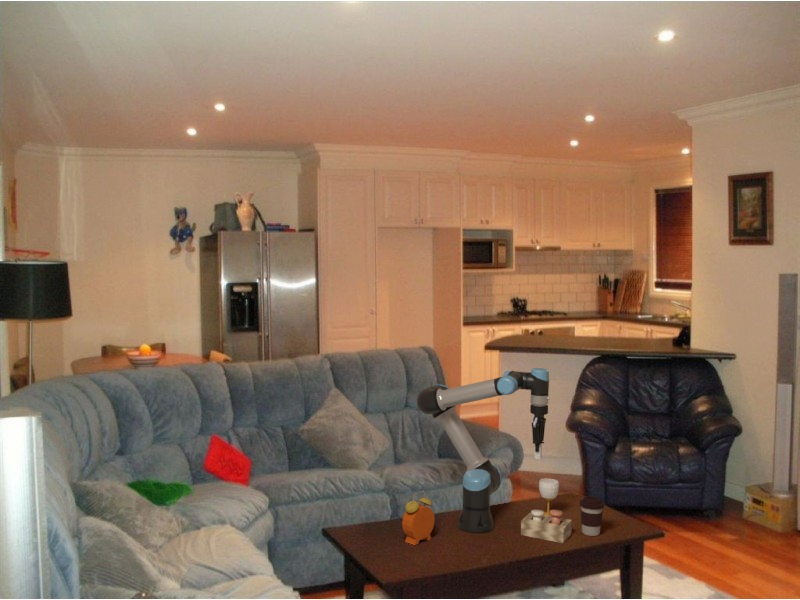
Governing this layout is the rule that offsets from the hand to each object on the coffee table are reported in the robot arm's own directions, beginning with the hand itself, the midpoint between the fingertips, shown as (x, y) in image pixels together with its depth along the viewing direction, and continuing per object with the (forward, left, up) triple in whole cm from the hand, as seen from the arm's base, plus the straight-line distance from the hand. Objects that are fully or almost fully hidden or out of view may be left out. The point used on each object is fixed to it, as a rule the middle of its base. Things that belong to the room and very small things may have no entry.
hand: (537, 458), depth 321 cm
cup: (+1, +14, -30) cm, 33 cm away
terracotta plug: (+11, -8, -27) cm, 30 cm away
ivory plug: (+3, -8, -29) cm, 30 cm away
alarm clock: (-36, -42, -30) cm, 63 cm away
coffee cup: (+23, +3, -30) cm, 38 cm away
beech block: (+7, -8, -29) cm, 31 cm away
